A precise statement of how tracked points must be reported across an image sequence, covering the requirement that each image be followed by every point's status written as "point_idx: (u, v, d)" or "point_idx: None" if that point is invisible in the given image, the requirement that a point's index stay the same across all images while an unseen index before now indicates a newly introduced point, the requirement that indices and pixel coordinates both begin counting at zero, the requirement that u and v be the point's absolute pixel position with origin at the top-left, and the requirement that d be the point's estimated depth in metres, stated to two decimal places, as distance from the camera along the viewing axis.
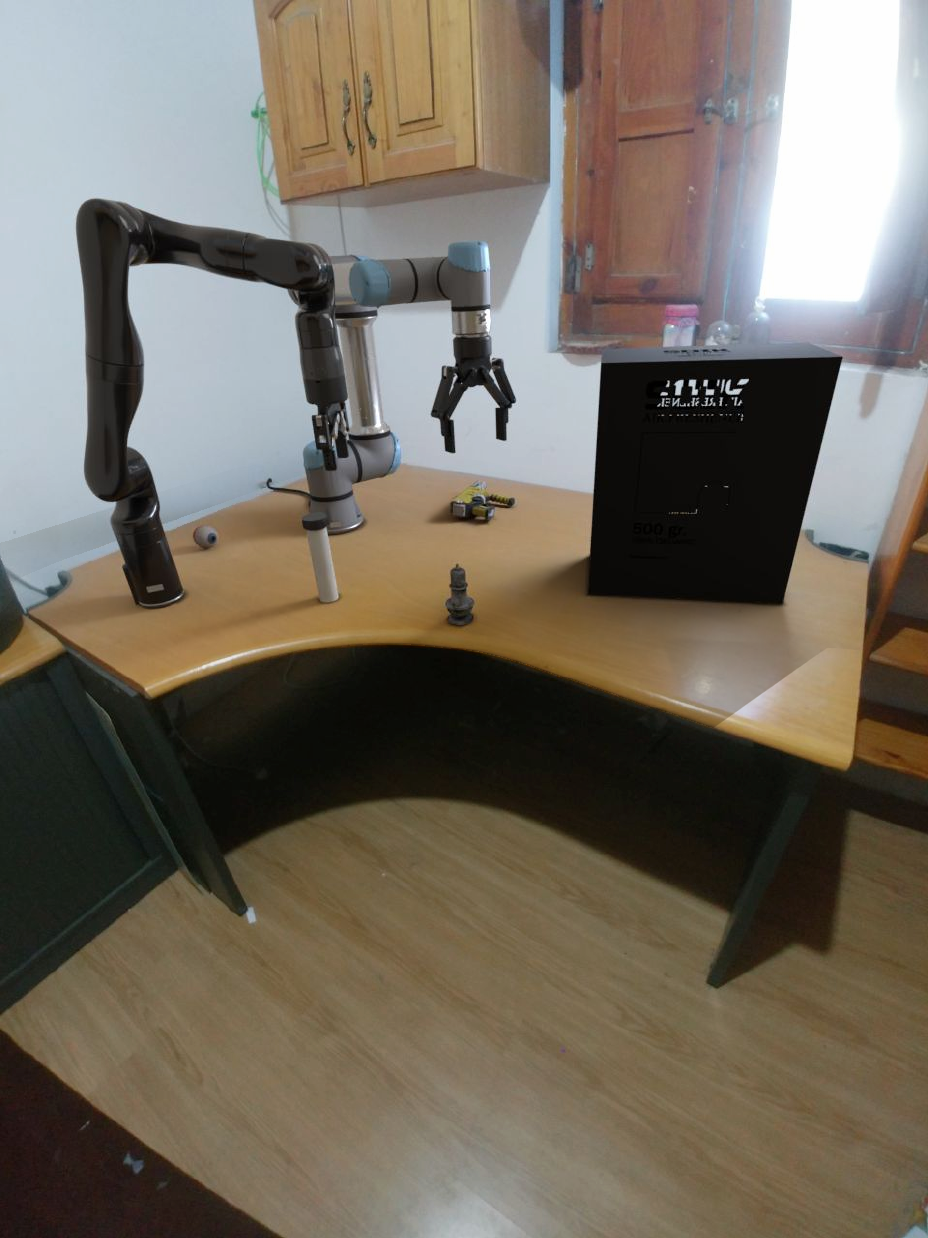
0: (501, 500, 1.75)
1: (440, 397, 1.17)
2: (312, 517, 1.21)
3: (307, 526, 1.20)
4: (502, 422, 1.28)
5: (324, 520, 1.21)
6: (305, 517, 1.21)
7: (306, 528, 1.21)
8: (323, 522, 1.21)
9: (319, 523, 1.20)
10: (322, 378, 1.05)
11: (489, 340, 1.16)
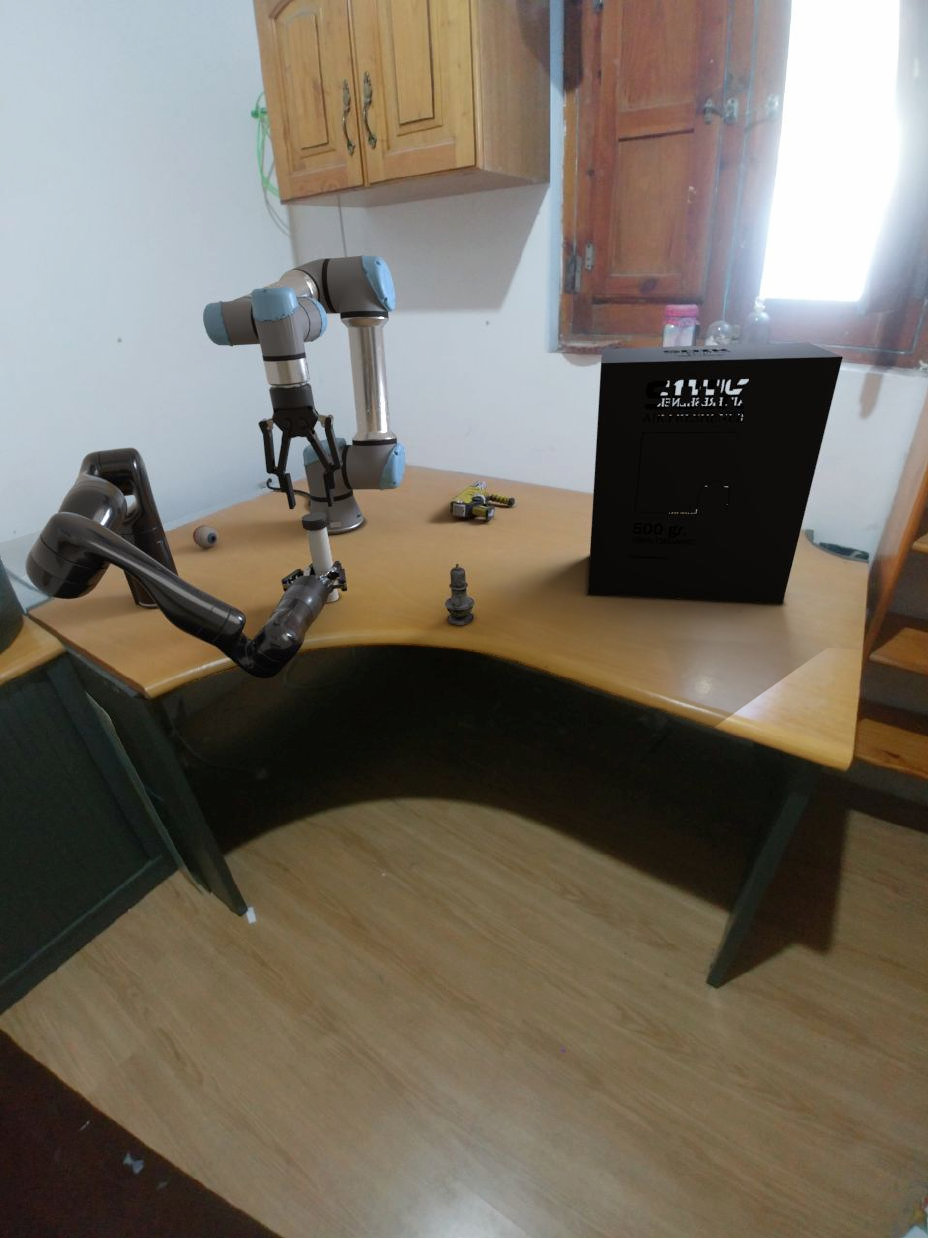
0: (501, 500, 1.75)
1: (337, 447, 1.15)
2: (312, 517, 1.21)
3: (307, 526, 1.20)
4: (292, 486, 1.19)
5: (324, 520, 1.21)
6: (305, 517, 1.21)
7: (306, 528, 1.21)
8: (323, 522, 1.21)
9: (319, 523, 1.20)
10: None
11: None
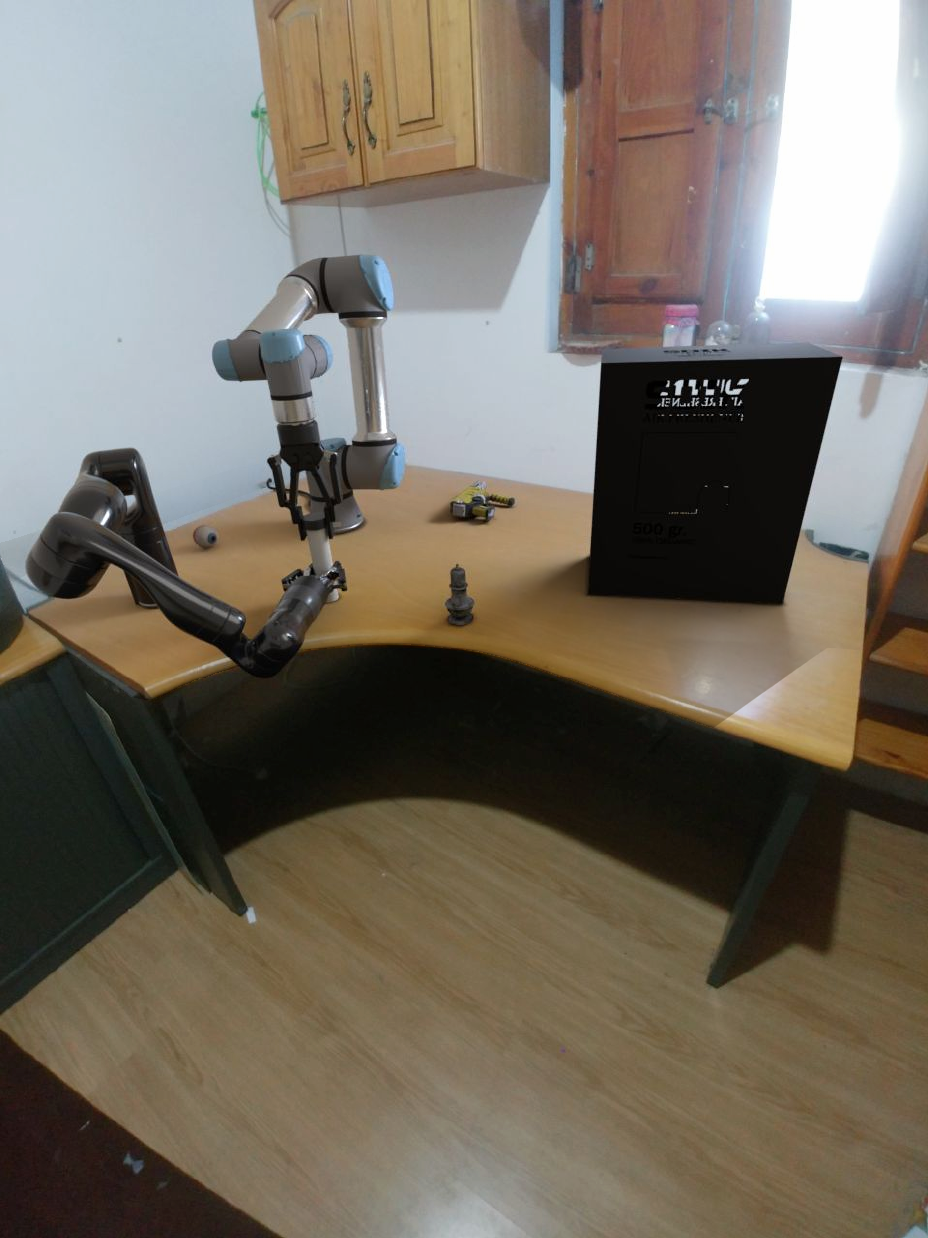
0: (501, 500, 1.75)
1: (339, 482, 1.19)
2: (312, 517, 1.21)
3: (307, 526, 1.20)
4: None
5: (324, 520, 1.21)
6: (305, 517, 1.21)
7: (306, 528, 1.21)
8: (323, 522, 1.21)
9: (319, 523, 1.20)
10: None
11: None
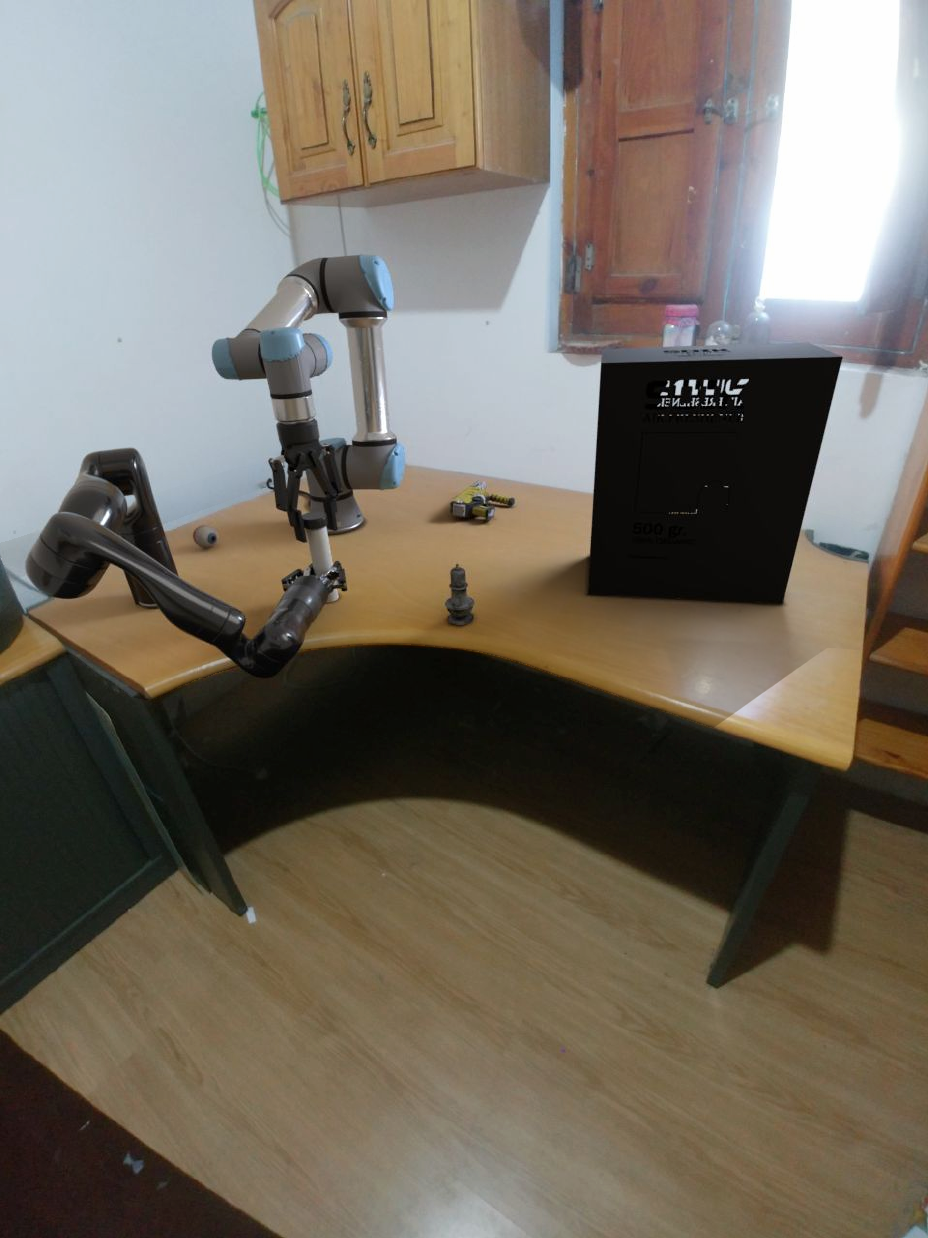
0: (501, 500, 1.75)
1: None
2: (316, 515, 1.21)
3: (326, 521, 1.22)
4: None
5: None
6: (315, 518, 1.20)
7: (326, 523, 1.22)
8: None
9: None
10: None
11: None
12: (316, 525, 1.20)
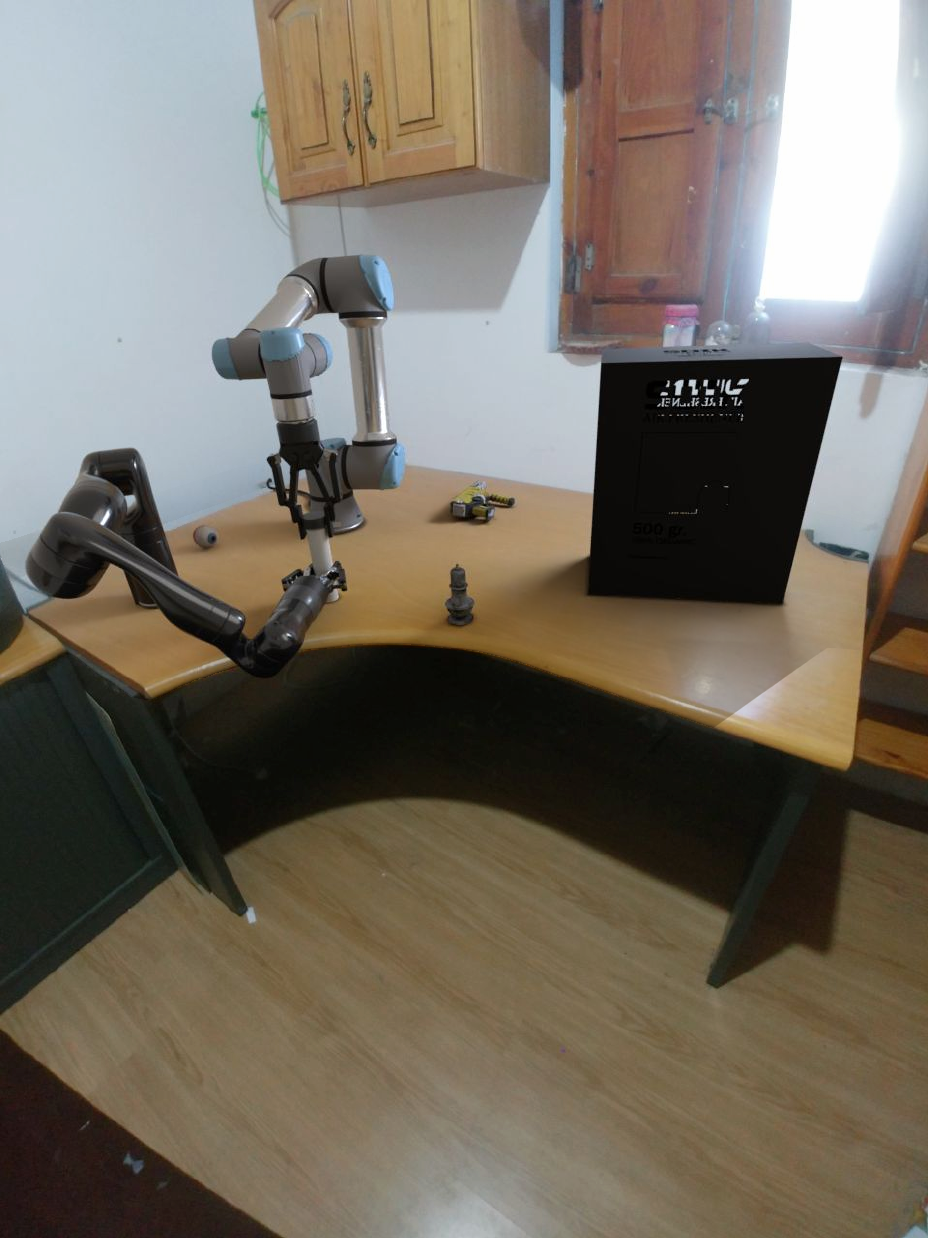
0: (501, 500, 1.75)
1: (339, 481, 1.19)
2: (316, 515, 1.21)
3: None
4: None
5: None
6: (315, 518, 1.20)
7: None
8: None
9: None
10: None
11: None
12: (316, 525, 1.20)
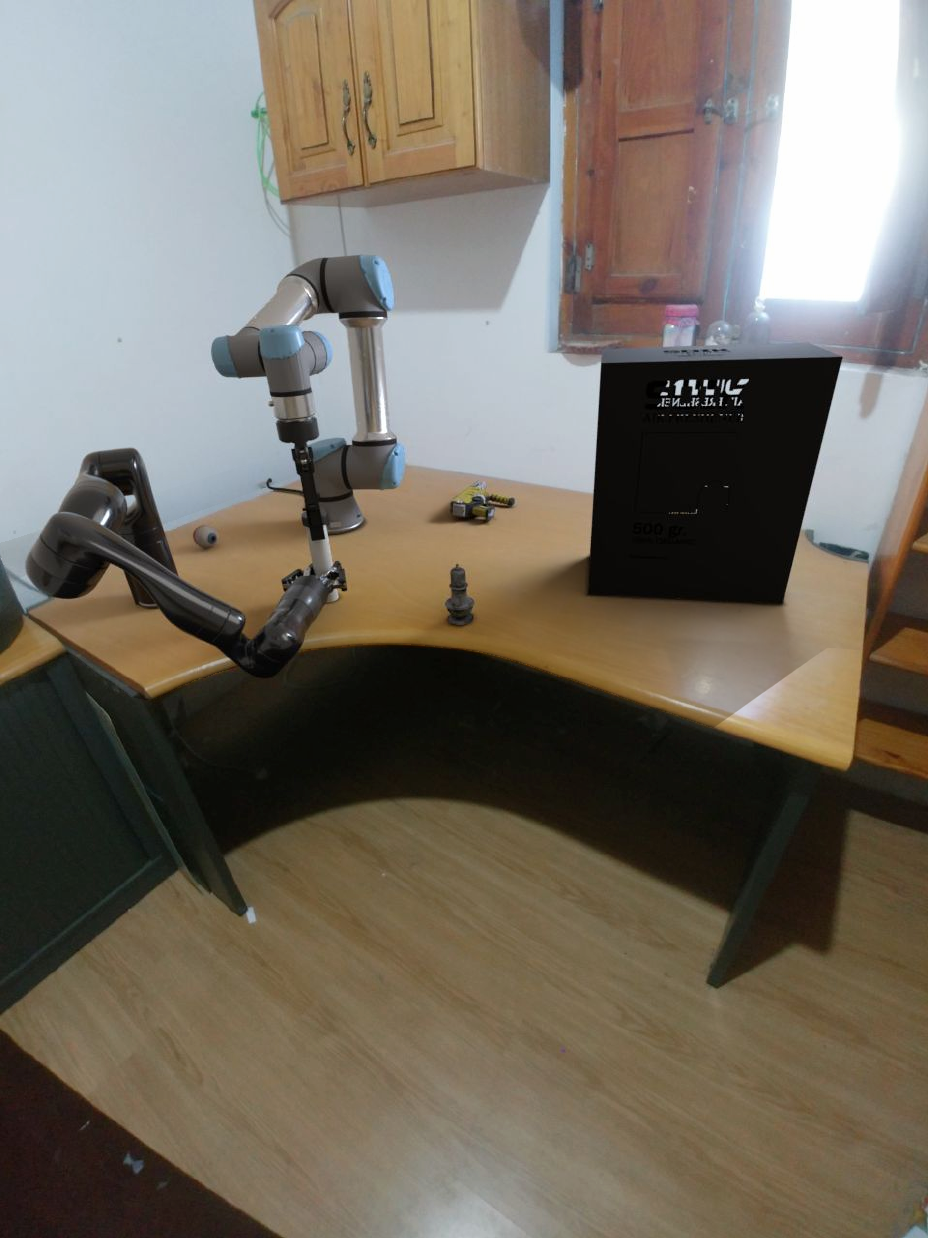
0: (501, 500, 1.75)
1: None
2: None
3: None
4: None
5: None
6: (321, 511, 1.22)
7: None
8: None
9: None
10: None
11: (278, 426, 1.10)
12: None
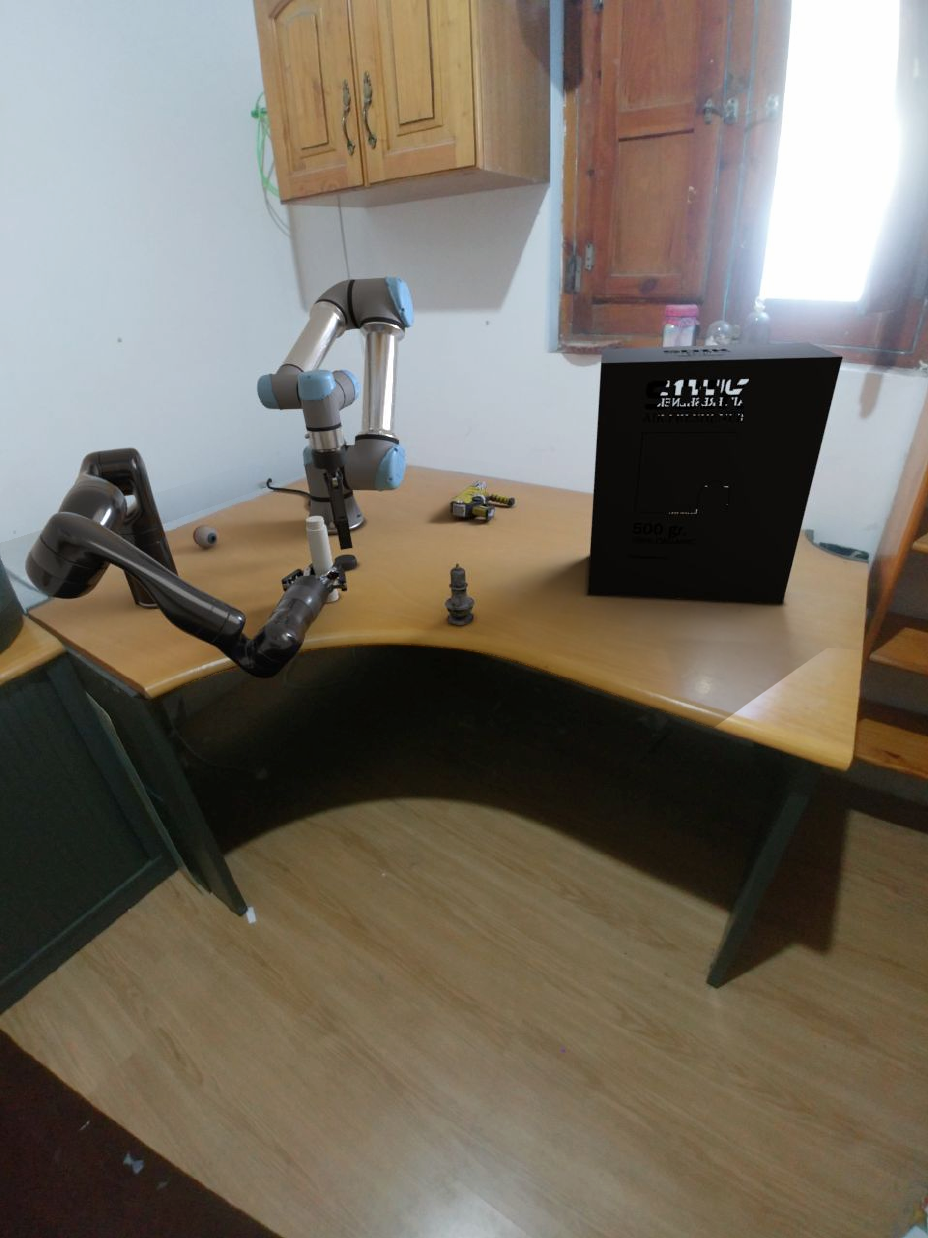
0: (501, 500, 1.75)
1: None
2: (345, 557, 1.45)
3: None
4: None
5: None
6: (351, 556, 1.45)
7: None
8: None
9: None
10: None
11: (313, 455, 1.30)
12: None
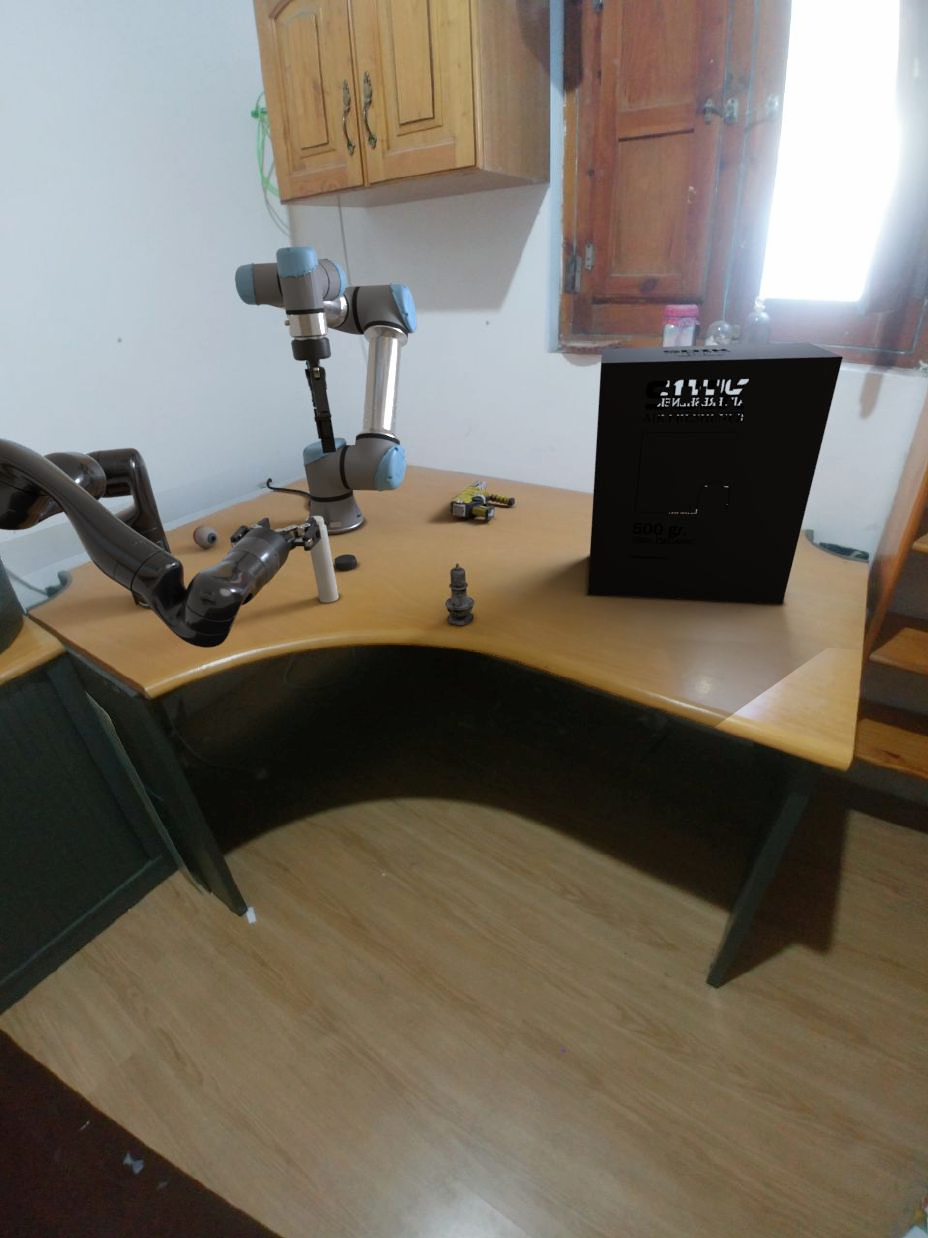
0: (501, 500, 1.75)
1: None
2: (345, 557, 1.45)
3: None
4: None
5: None
6: (351, 556, 1.45)
7: None
8: None
9: None
10: None
11: (293, 344, 1.19)
12: None
